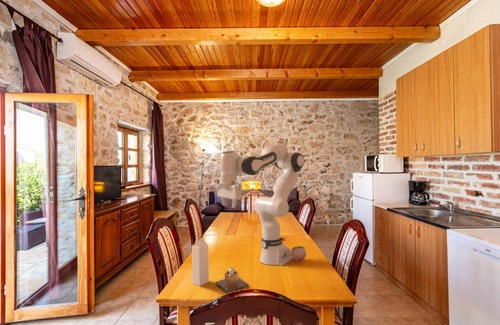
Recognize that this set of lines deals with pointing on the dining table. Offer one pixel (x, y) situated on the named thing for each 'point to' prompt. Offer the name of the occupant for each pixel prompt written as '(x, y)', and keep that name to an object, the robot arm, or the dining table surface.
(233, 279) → the collar
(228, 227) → the dining table surface
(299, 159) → the robot arm
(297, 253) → the decorative fruit
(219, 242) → the dining table surface
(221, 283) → the grey peg stand
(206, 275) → the milk
